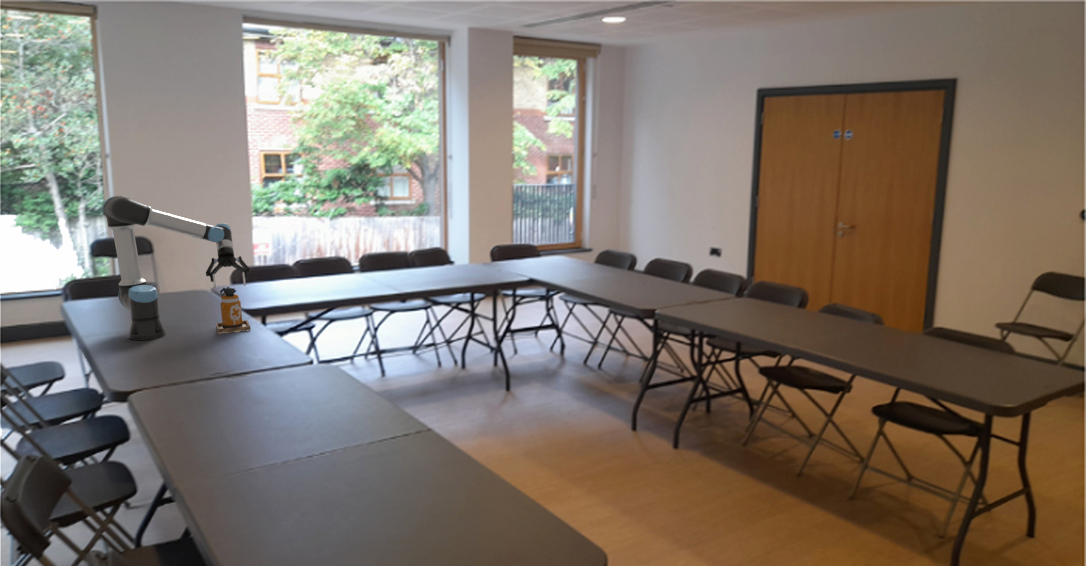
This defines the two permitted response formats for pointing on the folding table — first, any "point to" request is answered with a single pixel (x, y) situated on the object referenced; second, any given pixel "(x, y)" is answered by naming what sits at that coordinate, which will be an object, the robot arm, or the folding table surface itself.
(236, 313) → the canister
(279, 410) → the folding table surface
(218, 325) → the wooden tray
